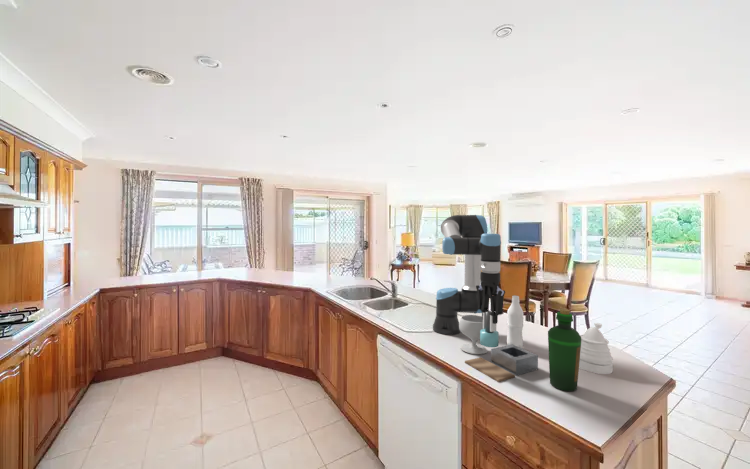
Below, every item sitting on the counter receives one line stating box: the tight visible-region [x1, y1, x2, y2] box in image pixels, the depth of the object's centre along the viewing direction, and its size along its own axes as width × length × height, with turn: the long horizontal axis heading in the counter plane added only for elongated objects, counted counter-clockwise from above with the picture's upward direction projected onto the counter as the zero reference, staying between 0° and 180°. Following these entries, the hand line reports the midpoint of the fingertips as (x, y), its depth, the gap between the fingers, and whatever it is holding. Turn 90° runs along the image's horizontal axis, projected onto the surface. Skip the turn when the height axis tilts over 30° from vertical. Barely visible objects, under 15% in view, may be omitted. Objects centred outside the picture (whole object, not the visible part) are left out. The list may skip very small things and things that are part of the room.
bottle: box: [547, 308, 581, 392], centre depth 112 cm, size 11×11×28 cm
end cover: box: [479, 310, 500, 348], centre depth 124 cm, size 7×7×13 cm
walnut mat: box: [464, 356, 516, 383], centre depth 125 cm, size 18×9×1 cm, turn 25°
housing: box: [490, 344, 539, 377], centre depth 128 cm, size 13×13×6 cm
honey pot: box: [579, 322, 614, 375], centre depth 128 cm, size 13×13×18 cm
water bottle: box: [506, 295, 524, 349], centre depth 148 cm, size 7×7×25 cm
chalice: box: [459, 314, 489, 355], centre depth 145 cm, size 14×14×15 cm
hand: (489, 329), depth 124 cm, fingers closed on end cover, 3 cm apart
